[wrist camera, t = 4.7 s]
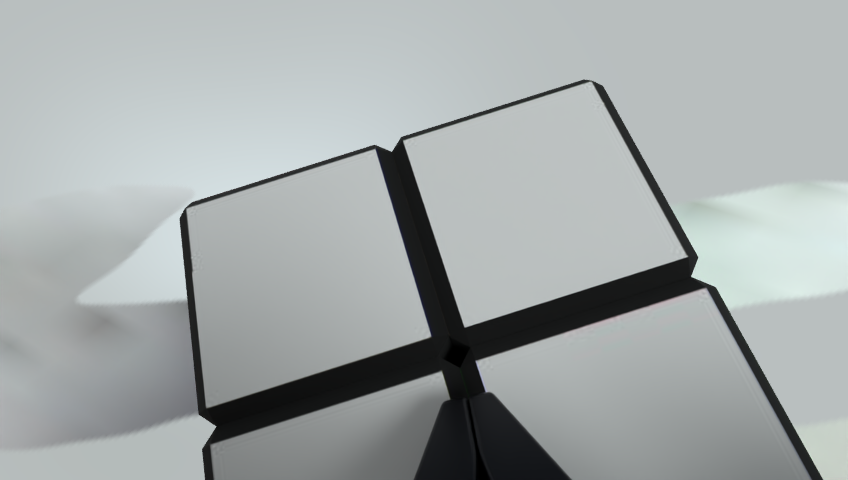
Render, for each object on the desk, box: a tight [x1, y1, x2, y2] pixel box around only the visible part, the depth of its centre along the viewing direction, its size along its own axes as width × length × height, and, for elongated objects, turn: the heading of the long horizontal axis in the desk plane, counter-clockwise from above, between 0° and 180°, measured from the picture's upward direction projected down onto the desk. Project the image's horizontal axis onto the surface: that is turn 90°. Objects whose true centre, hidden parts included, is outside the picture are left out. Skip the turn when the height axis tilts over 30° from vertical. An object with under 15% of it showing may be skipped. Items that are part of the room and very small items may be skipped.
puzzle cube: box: [180, 80, 823, 480], centre depth 14 cm, size 10×10×10 cm
